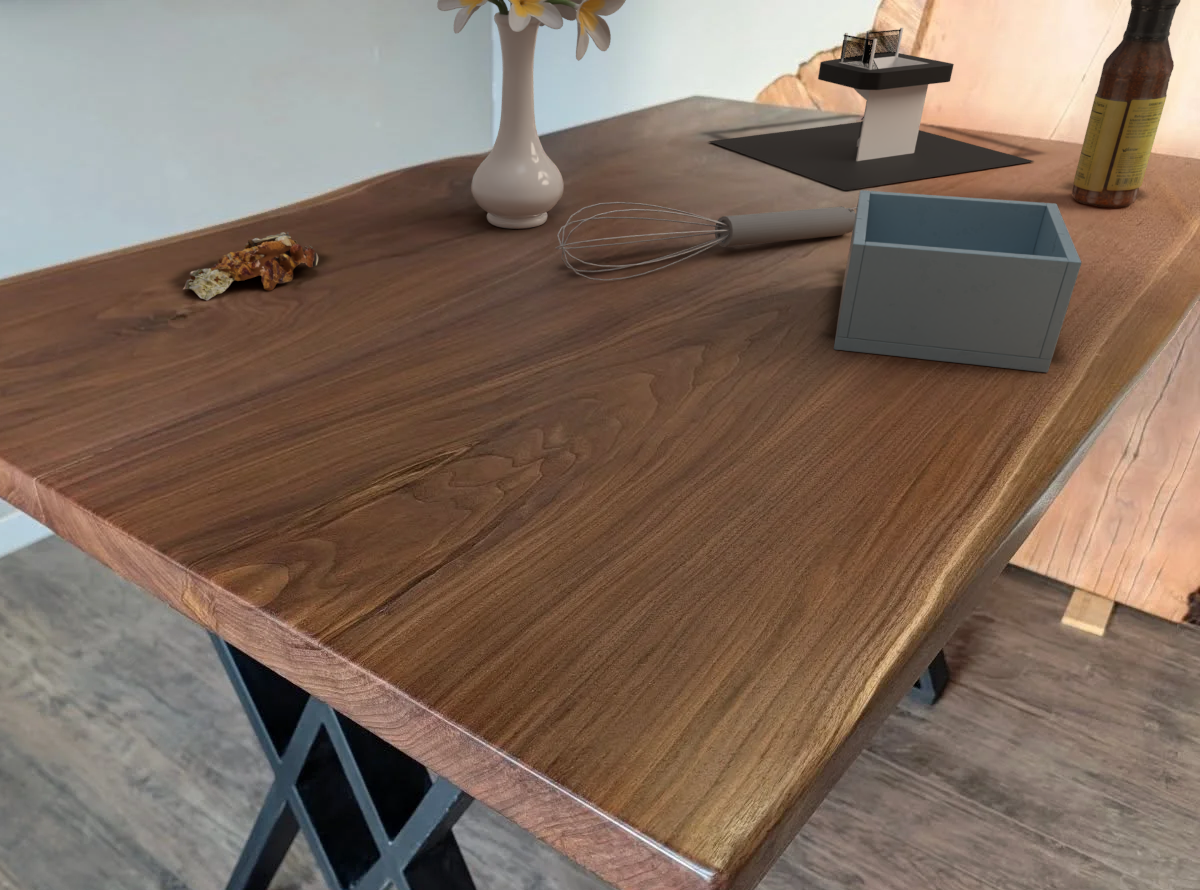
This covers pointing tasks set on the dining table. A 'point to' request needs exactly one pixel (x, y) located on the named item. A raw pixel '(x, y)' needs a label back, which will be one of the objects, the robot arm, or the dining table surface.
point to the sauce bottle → (1127, 109)
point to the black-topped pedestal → (874, 125)
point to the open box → (957, 280)
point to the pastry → (253, 265)
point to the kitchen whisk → (733, 230)
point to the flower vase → (526, 106)
